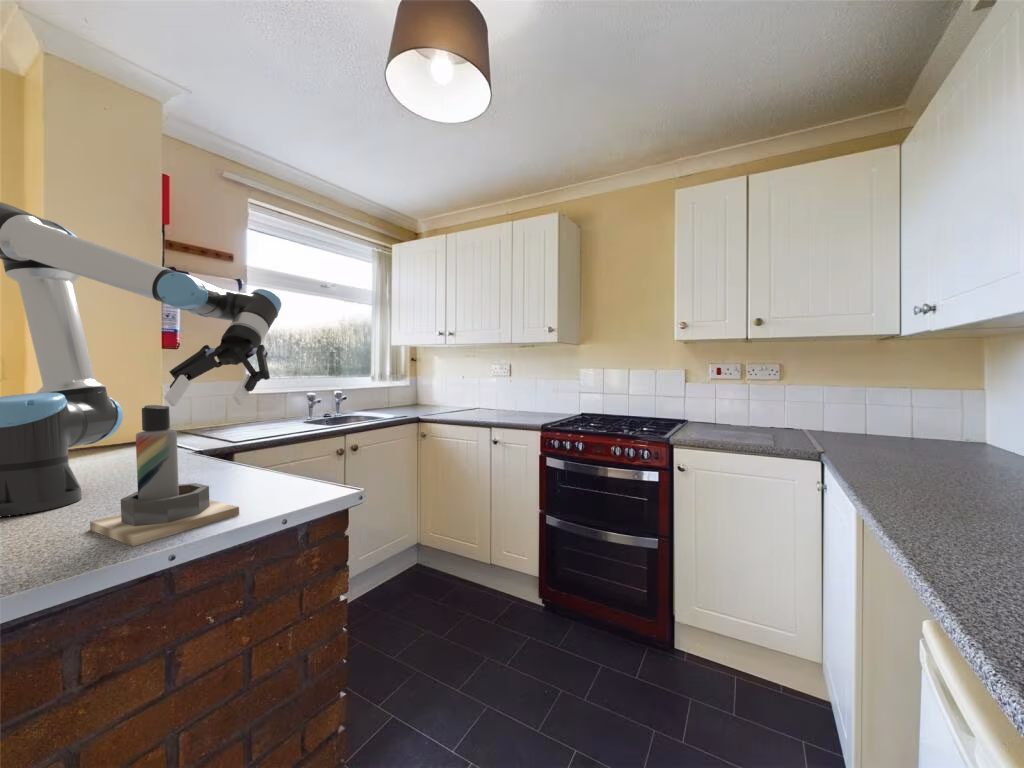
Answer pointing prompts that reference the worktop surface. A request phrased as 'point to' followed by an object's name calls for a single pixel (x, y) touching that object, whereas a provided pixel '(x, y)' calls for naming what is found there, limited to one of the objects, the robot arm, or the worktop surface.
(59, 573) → the worktop surface
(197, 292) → the robot arm
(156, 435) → the lotion bottle
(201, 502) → the holder
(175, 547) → the worktop surface
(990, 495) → the worktop surface
